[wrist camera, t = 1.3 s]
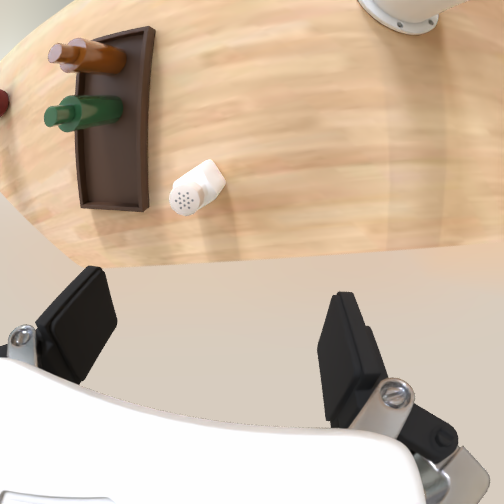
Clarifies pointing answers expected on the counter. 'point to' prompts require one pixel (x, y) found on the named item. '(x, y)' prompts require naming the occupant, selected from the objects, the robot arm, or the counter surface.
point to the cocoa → (3, 102)
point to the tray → (118, 130)
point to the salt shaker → (196, 188)
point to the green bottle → (84, 112)
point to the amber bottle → (88, 57)
